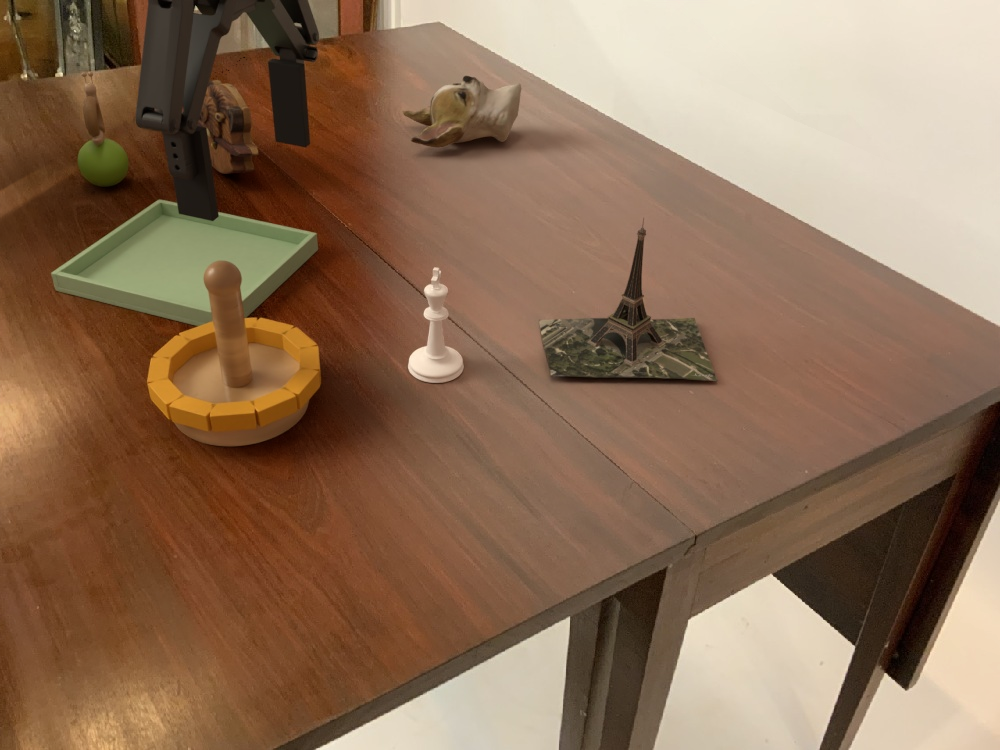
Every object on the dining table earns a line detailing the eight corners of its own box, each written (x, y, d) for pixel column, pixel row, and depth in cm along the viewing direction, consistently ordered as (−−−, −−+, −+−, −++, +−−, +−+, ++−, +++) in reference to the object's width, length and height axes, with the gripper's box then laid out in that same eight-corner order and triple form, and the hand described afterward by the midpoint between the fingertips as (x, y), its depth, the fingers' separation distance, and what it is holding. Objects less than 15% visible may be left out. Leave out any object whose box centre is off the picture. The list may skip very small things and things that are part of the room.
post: (142, 426, 78) (109, 283, 70) (219, 352, 87) (198, 217, 79) (265, 461, 75) (245, 316, 67) (332, 381, 84) (322, 244, 76)
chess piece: (469, 355, 88) (471, 258, 82) (456, 387, 84) (457, 288, 78) (416, 347, 89) (415, 250, 83) (401, 378, 85) (398, 279, 79)
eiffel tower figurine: (547, 383, 85) (559, 248, 77) (538, 319, 93) (548, 192, 85) (716, 384, 86) (745, 251, 78) (692, 321, 94) (716, 195, 86)
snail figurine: (132, 169, 116) (112, 69, 109) (133, 192, 111) (112, 89, 104) (83, 173, 115) (60, 72, 107) (82, 196, 110) (58, 93, 103)
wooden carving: (179, 148, 121) (166, 69, 115) (213, 140, 124) (202, 62, 118) (239, 198, 111) (228, 114, 105) (275, 188, 113) (267, 105, 108)
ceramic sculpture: (529, 86, 119) (407, 96, 117) (529, 152, 124) (413, 163, 122) (513, 58, 127) (399, 67, 125) (513, 121, 132) (404, 131, 130)
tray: (55, 290, 94) (50, 272, 93) (162, 215, 107) (159, 198, 106) (229, 334, 89) (226, 315, 88) (318, 249, 102) (317, 232, 101)
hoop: (116, 406, 76) (112, 390, 75) (212, 320, 86) (209, 304, 85) (267, 448, 73) (265, 432, 72) (348, 353, 83) (347, 338, 82)
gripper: (144, -96, 50) (200, 264, 62) (355, -160, 69) (365, 125, 82) (22, -113, 51) (101, 241, 64) (261, -171, 71) (285, 110, 83)
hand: (249, 177), depth 73 cm, fingers open, 13 cm apart
